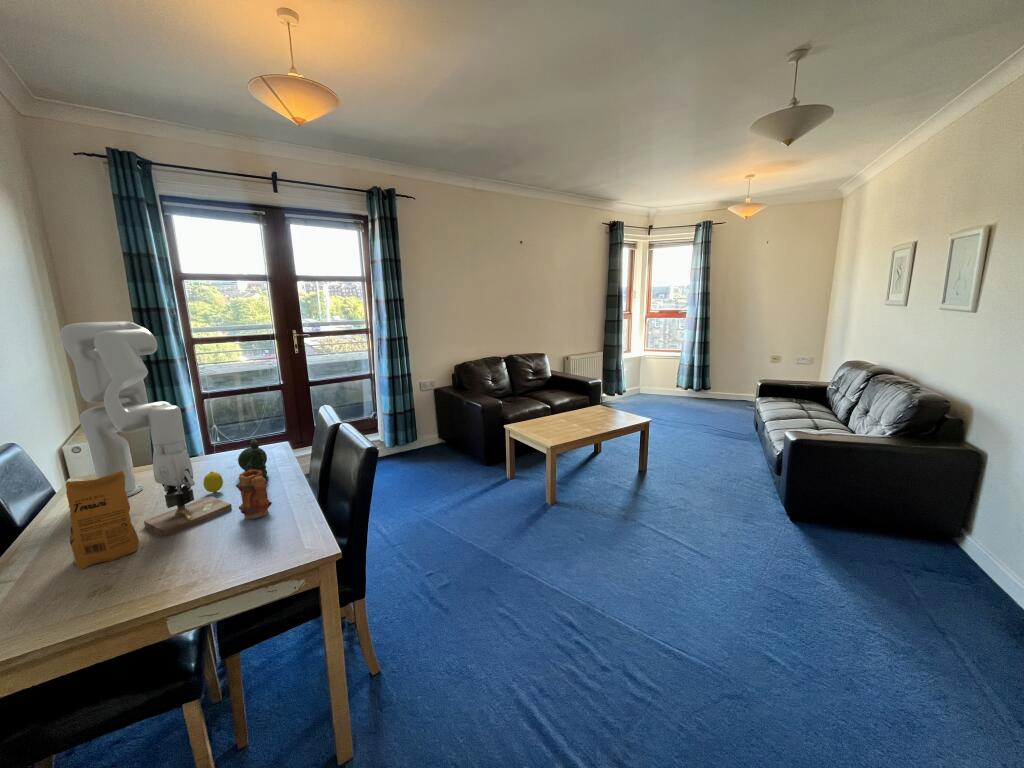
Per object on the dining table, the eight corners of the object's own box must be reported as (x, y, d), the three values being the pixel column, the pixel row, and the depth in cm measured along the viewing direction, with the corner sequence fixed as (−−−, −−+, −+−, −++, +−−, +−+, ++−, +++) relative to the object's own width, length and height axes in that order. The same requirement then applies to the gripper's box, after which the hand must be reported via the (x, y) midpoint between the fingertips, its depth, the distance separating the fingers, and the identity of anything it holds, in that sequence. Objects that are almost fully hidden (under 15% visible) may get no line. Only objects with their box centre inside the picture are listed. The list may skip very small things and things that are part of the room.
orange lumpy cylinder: (237, 514, 128) (231, 470, 125) (266, 505, 134) (260, 462, 131) (251, 532, 119) (244, 484, 116) (281, 521, 125) (276, 475, 122)
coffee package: (77, 554, 108) (60, 477, 104) (140, 537, 116) (126, 465, 112) (71, 573, 101) (52, 490, 96) (139, 553, 108) (124, 476, 104)
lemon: (214, 497, 140) (211, 475, 138) (201, 495, 141) (197, 474, 140) (228, 490, 145) (225, 469, 144) (215, 488, 146) (212, 467, 145)
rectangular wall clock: (144, 526, 121) (143, 520, 121) (211, 501, 137) (210, 495, 137) (164, 537, 116) (163, 530, 115) (231, 509, 132) (231, 503, 131)
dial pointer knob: (167, 514, 124) (164, 494, 123) (193, 506, 129) (190, 487, 128) (176, 524, 119) (173, 504, 118) (202, 515, 124) (199, 496, 122)
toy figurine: (276, 490, 149) (265, 463, 168) (271, 442, 144) (260, 420, 163) (246, 497, 143) (237, 469, 162) (239, 448, 138) (232, 425, 157)
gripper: (135, 448, 120) (146, 505, 124) (178, 453, 116) (187, 512, 120) (162, 440, 127) (172, 494, 131) (203, 445, 123) (212, 501, 127)
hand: (179, 502), depth 125 cm, fingers closed on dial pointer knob, 3 cm apart
